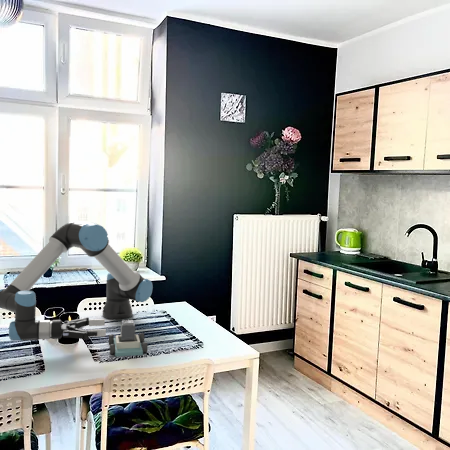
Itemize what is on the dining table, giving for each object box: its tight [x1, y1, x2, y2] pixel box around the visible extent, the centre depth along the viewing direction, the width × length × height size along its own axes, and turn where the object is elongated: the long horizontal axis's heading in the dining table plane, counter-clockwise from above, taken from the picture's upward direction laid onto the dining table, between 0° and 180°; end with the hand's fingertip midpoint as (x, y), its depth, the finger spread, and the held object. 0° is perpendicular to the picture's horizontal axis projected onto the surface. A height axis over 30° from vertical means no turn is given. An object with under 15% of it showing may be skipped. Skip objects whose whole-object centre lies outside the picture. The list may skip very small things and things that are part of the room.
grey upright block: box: [120, 319, 136, 342], centre depth 201 cm, size 6×6×10 cm
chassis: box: [108, 332, 149, 357], centre depth 201 cm, size 18×15×4 cm
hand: (105, 327), depth 198 cm, fingers open, 13 cm apart
